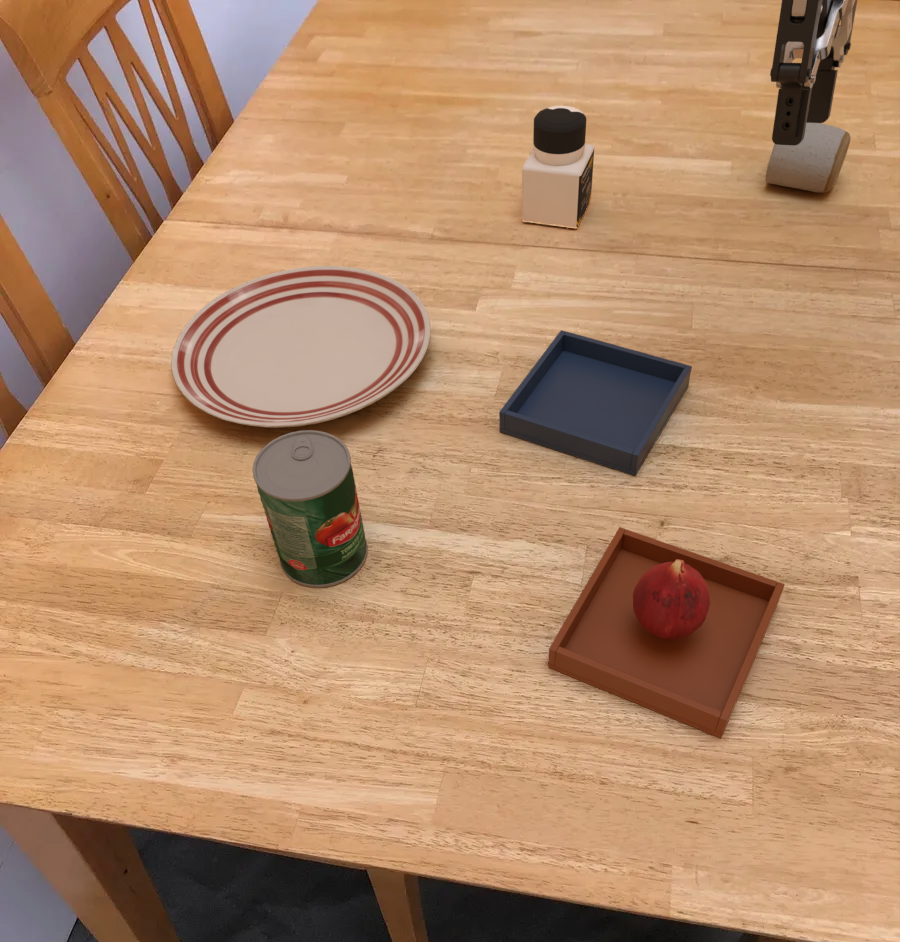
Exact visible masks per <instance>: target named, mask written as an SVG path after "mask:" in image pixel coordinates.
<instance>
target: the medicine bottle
mask: <svg viewBox="0 0 900 942" xmlns="http://www.w3.org/2000/svg"><path fill="white" fill-rule="evenodd" d="M586 133H587V116H586V115H585V114H584V112H583V111H582V110H581V109H579V108H577V107H573V106H570V105H552V106H549V107H546V108H543V109H542V110H540V111H539V112H537V114H536V115H535V116H534V118H533V136H532V137H533V139H532V140H533V142H532V143H533V145H532V149H531V151H530V153H529V155H528V156H527V158H526V160H525V162H524V163H523V165H522V168H521V221H522V220H524V221H533V222H541V223H546V224H547V223H548V224H556V225H558V224H559V225H564V226H569V227H571V226H572V227H578V226H579V227H580V225H579V224H581V223H580V221H581V222H582V220H583V218H584V216H585V214H584V213H586V212H587V209H588V207H589V205H590V203H591V201H590V199H591V200H592V189H593V175H594V174H593V173H594V162H595V161H594V159H595V145H593V144H588V143H587V144H586V135H587V134H586ZM589 202H590V203H589ZM588 204H589V205H588ZM586 208H587V209H586ZM585 211H586V212H585ZM583 215H584V216H583ZM582 217H583V218H582ZM581 219H582V220H581ZM579 227H578V228H579Z"/></svg>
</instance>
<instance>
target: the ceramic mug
mask: <svg viewBox="0 0 900 942" xmlns="http://www.w3.org/2000/svg"><path fill="white" fill-rule="evenodd" d="M850 143H851V134H850V133H849V131H847V130H845V129H843V128H840V127H838V126H834V125H829V124H825V123H806V129H805V135H804V139H803V141H802V142H800V143H799V144H798V145H795V146H794V145H777V144H775V143H773V147H772V151H771V153H770V157H769V161H768V164H767V167H766V172H765V182H766V183H767V184H771V185H775V186H781V187H786V188H791V189H798V190H802V191H808V192H813V193H828V192H830V191H831V190H833V188H835V187H834V186H835V185H836V183H837V179H838V178H839V175H840V173H841V170H842V167H843V165H844V162H845V159H846V156H847V154H848V150H849V147H850Z"/></svg>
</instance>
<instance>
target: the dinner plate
mask: <svg viewBox="0 0 900 942" xmlns="http://www.w3.org/2000/svg"><path fill="white" fill-rule="evenodd" d="M431 331H432V327H431V320H430V316H429V312H428V310H427V308H426V307H425V304H424V303H423V302H422V300H421V299H420V298H419V297H418V295H416V293H415V292H414V291H412V290H411V289H410V288H409V287H408V286H406V285H405V284H403V283H401V282H400V281H398V280H396V279H394V278H393V277H389V276H387V275H385V274H382V273H379V272H376V271H373V270H368V269H365V268H364V269H363V268H360V267H359V268H358V267H353V266H352V267H351V266H344V265H343V266H342V265H316V266H315V265H313V266H304V267H296V268H290V269H285V270H280V271H276V272H273V273H269V274H265V275H261V276H258V277H255V278H253V279H250V280H248V281H245V282H242V283H241V284H238V285H237V286H235V287H232V288H230V289H228V290H226V291H225V292H222V293H221V294H219V295H217V296H216V297H214V298H213V299H212V300H211V301H209V302H208V303H207V304H205V305H204V306H203V307H202V308H200V309H199V310H198V311H197V312H196V313H195V314H193V316H192V317H191V318H190V319H189V320H188V321H187V323H186V324H185V325H184V327H183V328H182V330H181V331H180V333H179V334H178V336H177V337H176V340H175V343H174V345H173V349H172V353H171V356H170V357H171V358H170V369H171V374H172V378H173V381H174V383H175V385H176V386H177V388H178V390H179V391H180V393H181V394H182V395H183V396H184V398H185V399H186V400H187V401H189V402H190V403H191V404H192V405H193V406H194V407H196V408H198V409H199V410H201V411H202V412H204V413H206V414H208V415H211V416H212V417H215V418H218V419H220V420H223V421H226V422H230V423H235V424H239V425H244V426H249V427H259V428H276V429H277V428H280V429H281V428H295V427H304V426H310V425H316V424H321V423H325V422H328V421H332V420H336V419H339V418H342V417H345V416H348V415H350V414H353V413H356V412H357V411H360V410H362V409H364V408H367V407H368V406H370V405H373V404H375V403H376V402H378V401H380V400H381V399H383V398H384V397H386V396H387V395H389V394H391V393H392V392H394V391H395V390H396V389H398V387H400V386H401V385H402V384H403V383H404V382H405V381H406V380H408V379H409V377H411V375H412V374H413V373H414V372H415V371H416V369H417V368H418V367H419V365H420V364H421V362H422V361H423V359H424V357H425V355H426V353H427V351H428V348H429V345H430V341H431V333H432V332H431Z"/></svg>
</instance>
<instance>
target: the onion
mask: <svg viewBox="0 0 900 942" xmlns="http://www.w3.org/2000/svg"><path fill="white" fill-rule="evenodd" d="M709 606H710V597H709V590H708V585H707V583H706V582H705V580H704V579H703V577H702V576H701V574H700V573H699V572H698V571H697V570H695V569H694V568H692V567H691V566H690V565H688V564H684V561H683V560H680V559H677V560H676V561H675V562H666V563H662V564H658V565H656V566H654V567H652V568H651V569H650V570H648V571H647V572H646V573H644V574H643V575H642V577H641V578H640V580H639V581H638V583H637V585H636V587H635V589H634V592H633V608H634V613H635V615H636V617H637V619H638V621H639V622H640V624H641V625H642V626H643V627H644V628H645V629H646V630H647V631H648V632H649V633H651V634H653V635H656V636H658V637H660V638H665V639H673V640H675V639H679V638H683V637H687V636H689V635H691V634H692V633H693V632H694V631H696V630H697V629H698V628H699V627H701V625H702V624H703V622H704V621H705V619H706V616H707V613H708V610H709Z"/></svg>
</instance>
